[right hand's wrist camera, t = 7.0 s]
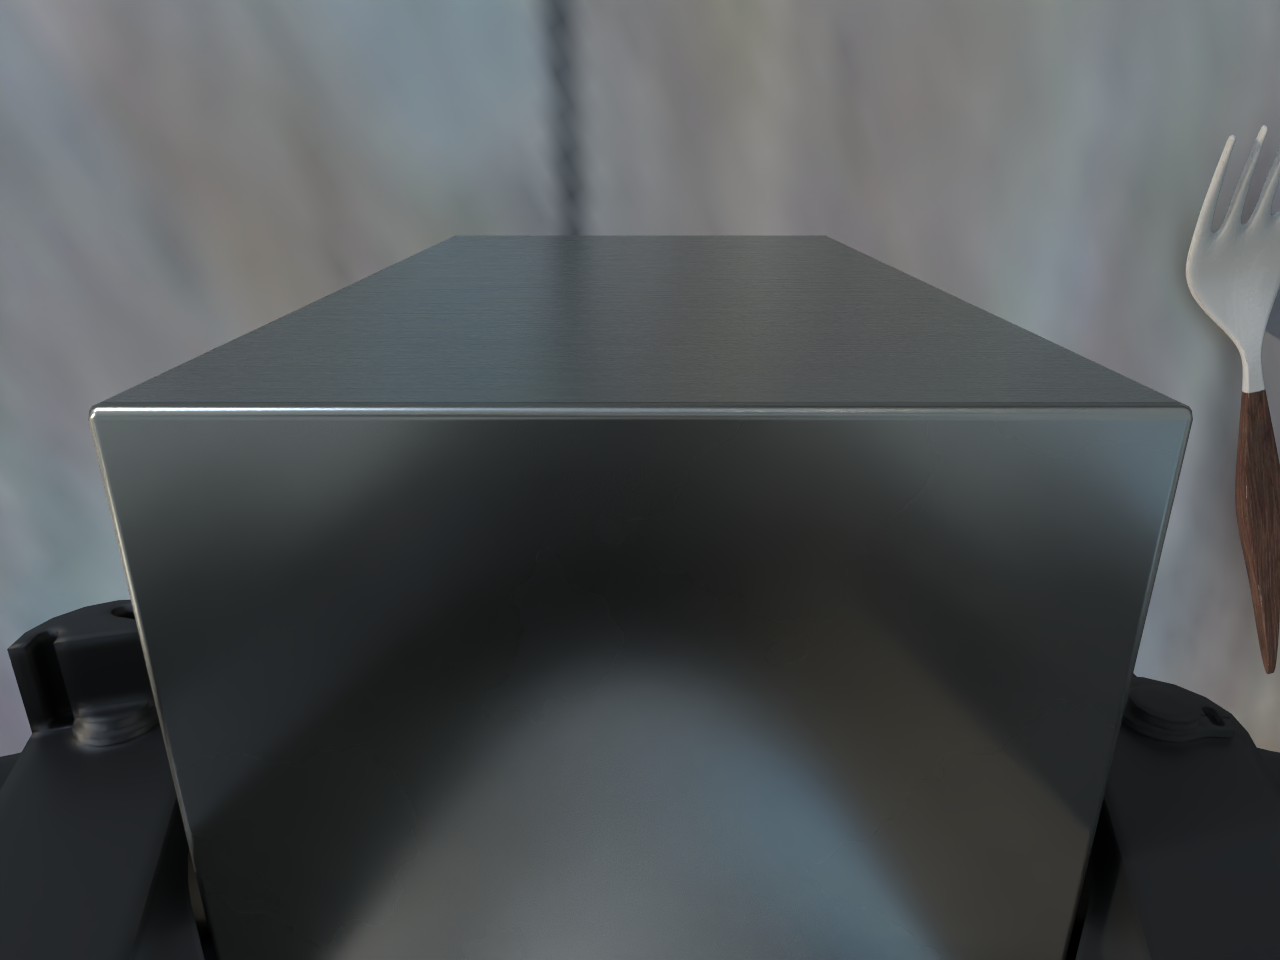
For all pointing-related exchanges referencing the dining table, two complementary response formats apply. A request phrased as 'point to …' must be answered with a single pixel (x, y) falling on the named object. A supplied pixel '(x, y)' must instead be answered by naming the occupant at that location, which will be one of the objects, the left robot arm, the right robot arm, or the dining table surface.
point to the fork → (1247, 366)
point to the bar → (640, 608)
